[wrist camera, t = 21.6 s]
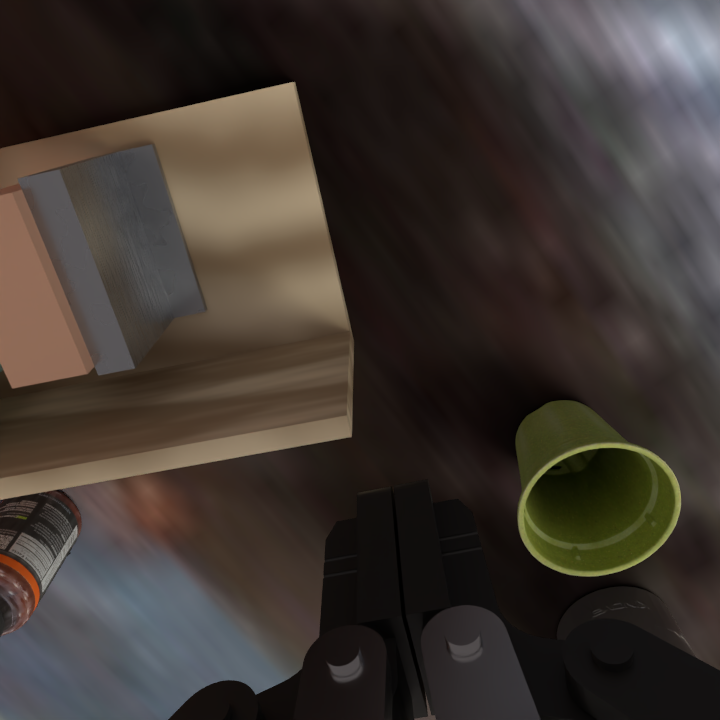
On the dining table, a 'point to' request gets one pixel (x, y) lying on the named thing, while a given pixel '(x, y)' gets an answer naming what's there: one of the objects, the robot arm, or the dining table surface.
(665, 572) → the dining table surface
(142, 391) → the rack
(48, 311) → the tan rectangular block
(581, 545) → the plant pot
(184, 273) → the bookend
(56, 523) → the supplement bottle
